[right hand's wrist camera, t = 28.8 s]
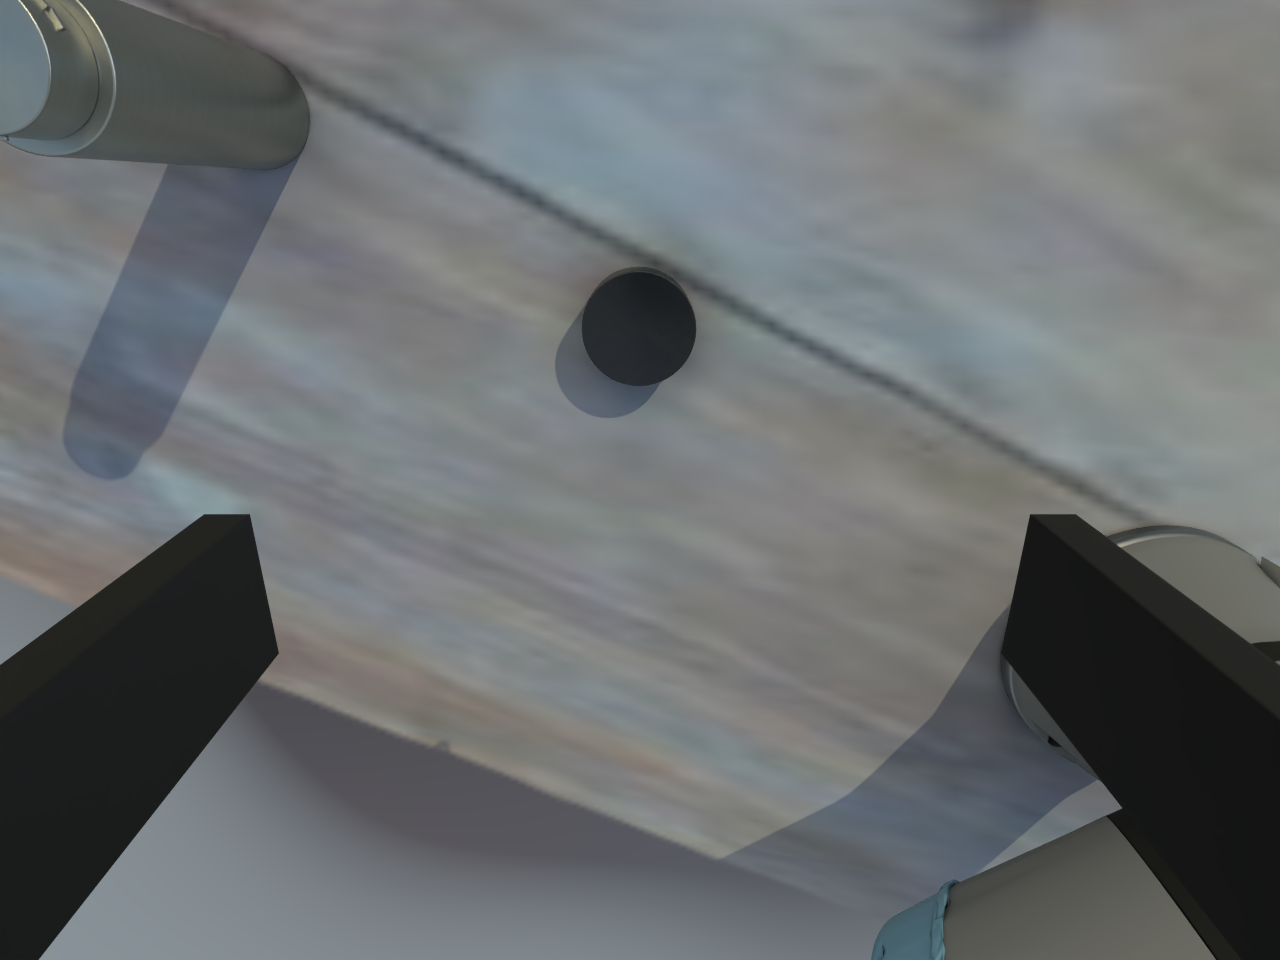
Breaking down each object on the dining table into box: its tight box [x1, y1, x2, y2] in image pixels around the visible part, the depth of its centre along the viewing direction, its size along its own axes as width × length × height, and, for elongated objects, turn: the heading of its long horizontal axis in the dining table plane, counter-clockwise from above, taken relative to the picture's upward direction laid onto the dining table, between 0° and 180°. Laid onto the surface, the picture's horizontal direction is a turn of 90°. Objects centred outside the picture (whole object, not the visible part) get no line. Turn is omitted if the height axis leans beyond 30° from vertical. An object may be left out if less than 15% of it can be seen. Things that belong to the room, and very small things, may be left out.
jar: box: [0, 0, 310, 170], centre depth 26 cm, size 5×5×15 cm
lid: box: [582, 267, 696, 386], centre depth 36 cm, size 5×5×2 cm
